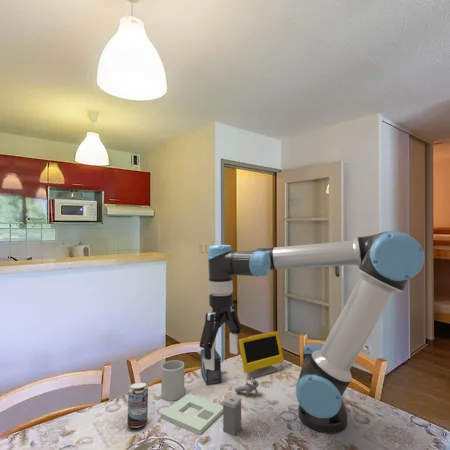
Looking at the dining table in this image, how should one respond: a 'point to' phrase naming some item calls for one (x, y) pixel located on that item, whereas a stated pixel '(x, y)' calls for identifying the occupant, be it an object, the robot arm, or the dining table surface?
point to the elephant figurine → (248, 387)
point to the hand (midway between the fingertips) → (222, 360)
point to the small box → (210, 375)
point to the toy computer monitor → (261, 353)
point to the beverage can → (137, 405)
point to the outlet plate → (199, 420)
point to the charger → (232, 415)
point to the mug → (172, 380)
